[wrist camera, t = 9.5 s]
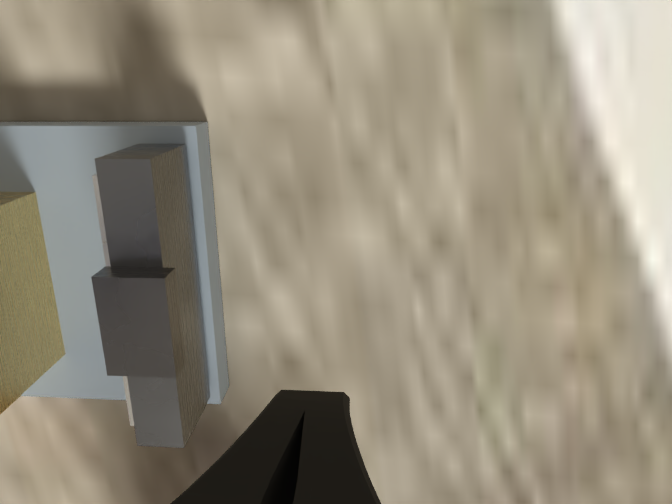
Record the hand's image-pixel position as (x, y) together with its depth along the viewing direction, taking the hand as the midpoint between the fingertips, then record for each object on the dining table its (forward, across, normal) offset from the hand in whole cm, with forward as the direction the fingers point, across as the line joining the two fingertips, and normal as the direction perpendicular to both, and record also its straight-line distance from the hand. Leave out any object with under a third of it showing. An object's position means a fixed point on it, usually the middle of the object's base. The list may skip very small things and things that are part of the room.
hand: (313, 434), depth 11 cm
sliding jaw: (+8, +5, 0) cm, 10 cm away
